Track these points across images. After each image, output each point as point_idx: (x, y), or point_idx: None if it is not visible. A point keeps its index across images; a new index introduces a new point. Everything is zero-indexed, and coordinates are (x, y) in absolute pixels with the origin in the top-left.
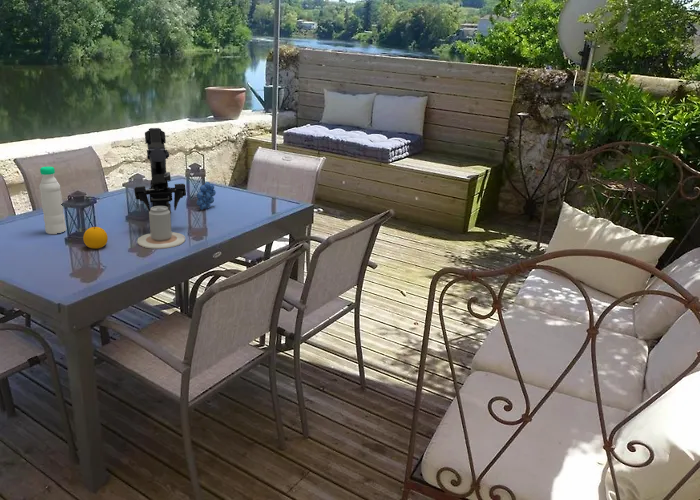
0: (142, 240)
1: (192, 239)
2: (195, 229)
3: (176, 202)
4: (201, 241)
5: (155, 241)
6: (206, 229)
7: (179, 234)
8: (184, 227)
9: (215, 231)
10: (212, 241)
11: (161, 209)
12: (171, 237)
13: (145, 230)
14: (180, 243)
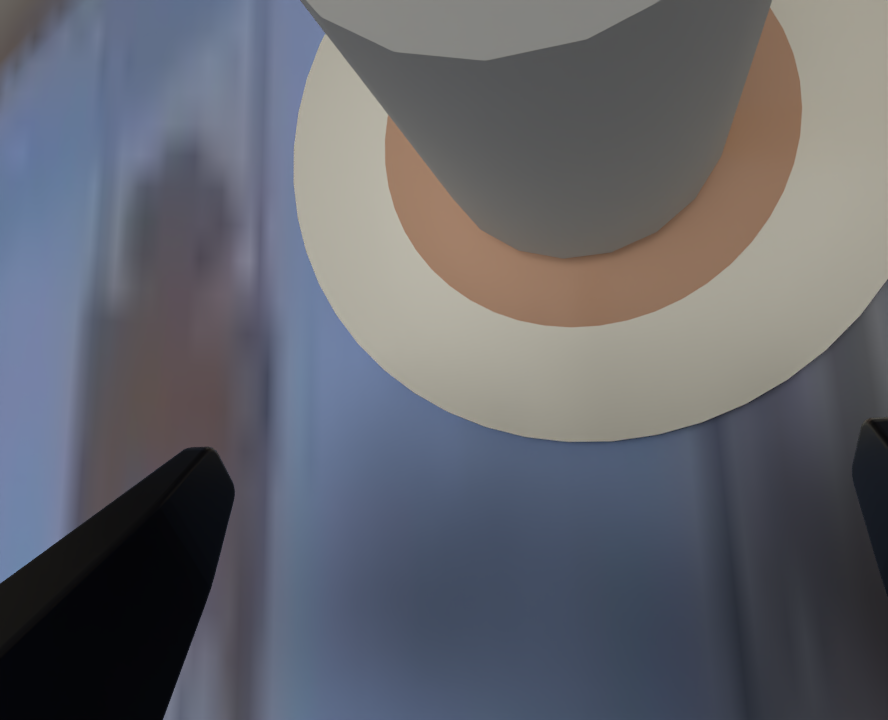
0: (852, 63)
1: (233, 191)
2: None
3: (23, 568)
4: (152, 124)
5: None
6: None
7: (357, 298)
8: (311, 683)
9: (3, 451)
10: (59, 123)
11: (474, 62)
12: None
13: (882, 656)
14: None
